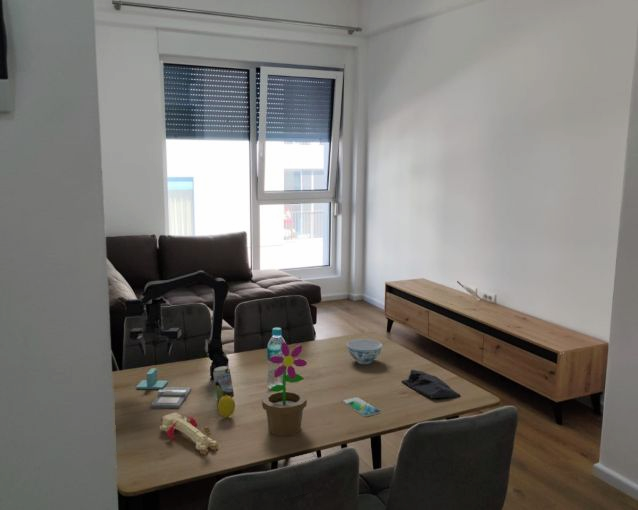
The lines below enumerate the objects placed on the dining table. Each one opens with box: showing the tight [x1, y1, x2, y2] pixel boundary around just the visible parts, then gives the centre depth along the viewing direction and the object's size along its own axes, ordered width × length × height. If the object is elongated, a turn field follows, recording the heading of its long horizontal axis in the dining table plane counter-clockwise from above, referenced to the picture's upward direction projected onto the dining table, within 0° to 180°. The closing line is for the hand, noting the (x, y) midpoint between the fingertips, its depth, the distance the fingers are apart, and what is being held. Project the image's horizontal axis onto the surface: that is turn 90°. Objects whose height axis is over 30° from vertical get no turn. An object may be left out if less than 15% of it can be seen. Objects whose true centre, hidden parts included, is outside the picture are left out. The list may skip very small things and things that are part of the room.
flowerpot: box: [261, 342, 308, 437], centre depth 181 cm, size 14×14×30 cm
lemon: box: [217, 395, 236, 419], centre depth 191 cm, size 6×6×8 cm
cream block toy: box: [159, 412, 219, 456], centre depth 176 cm, size 10×9×25 cm
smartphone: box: [341, 396, 382, 418], centre depth 200 cm, size 7×1×15 cm
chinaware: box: [346, 338, 383, 365], centre depth 246 cm, size 15×15×8 cm
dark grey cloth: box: [401, 369, 462, 399], centre depth 217 cm, size 15×22×5 cm
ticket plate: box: [150, 386, 192, 409], centre depth 207 cm, size 10×16×2 cm, turn 178°
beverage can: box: [213, 366, 235, 401], centre depth 205 cm, size 6×7×12 cm
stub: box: [135, 367, 169, 390], centre depth 218 cm, size 10×7×6 cm
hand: (156, 355), depth 219 cm, fingers open, 9 cm apart
